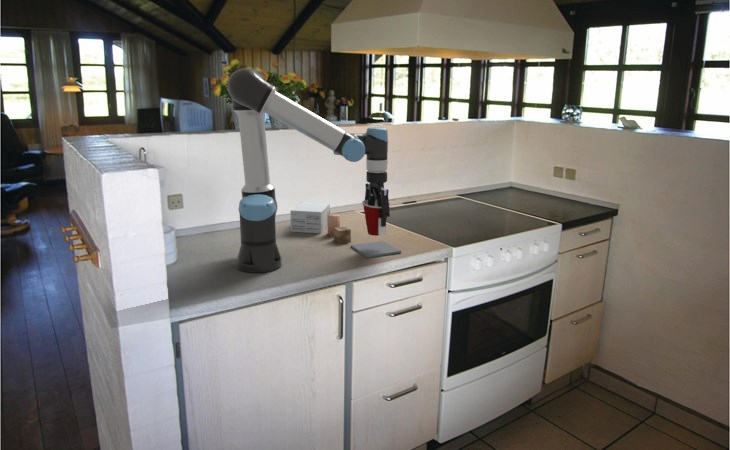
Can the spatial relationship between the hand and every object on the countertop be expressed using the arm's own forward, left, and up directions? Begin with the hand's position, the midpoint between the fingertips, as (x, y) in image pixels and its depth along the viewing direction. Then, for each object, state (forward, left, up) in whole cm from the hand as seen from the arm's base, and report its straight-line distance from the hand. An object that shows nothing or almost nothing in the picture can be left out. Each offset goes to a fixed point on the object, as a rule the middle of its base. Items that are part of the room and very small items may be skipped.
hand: (376, 231), depth 203 cm
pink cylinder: (-6, +26, -7) cm, 28 cm away
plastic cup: (0, 0, -1) cm, 1 cm away
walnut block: (-7, +16, -7) cm, 19 cm away
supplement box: (-11, +39, -8) cm, 41 cm away
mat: (0, 0, -7) cm, 7 cm away
